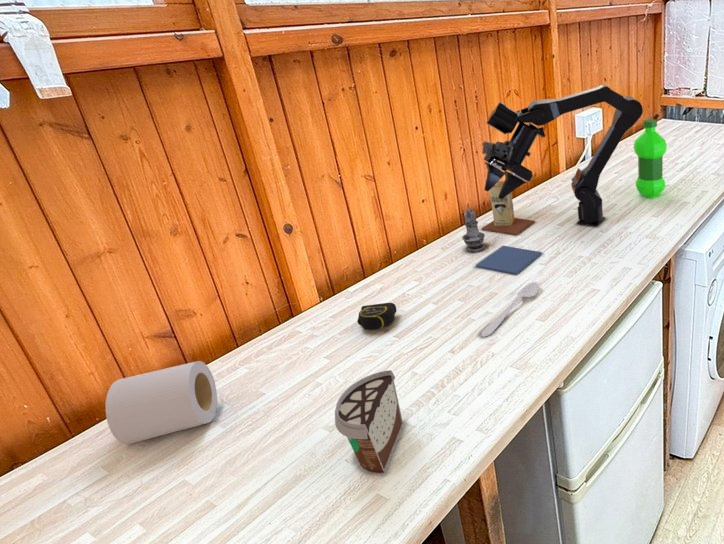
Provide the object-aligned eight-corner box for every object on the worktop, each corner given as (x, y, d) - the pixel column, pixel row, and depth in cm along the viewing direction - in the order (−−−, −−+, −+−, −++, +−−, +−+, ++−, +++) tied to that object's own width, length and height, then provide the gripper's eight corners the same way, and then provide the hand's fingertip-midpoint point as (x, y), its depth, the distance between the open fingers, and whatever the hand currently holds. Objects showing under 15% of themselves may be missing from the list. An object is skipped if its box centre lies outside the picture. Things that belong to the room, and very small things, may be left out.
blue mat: (541, 254, 136) (541, 252, 136) (516, 274, 126) (516, 272, 126) (503, 247, 141) (503, 245, 140) (476, 267, 131) (475, 264, 130)
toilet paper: (126, 458, 78) (96, 407, 74) (150, 414, 86) (124, 366, 82) (206, 436, 81) (182, 386, 77) (222, 396, 90) (200, 349, 85)
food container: (366, 420, 83) (351, 371, 79) (406, 417, 84) (392, 367, 79) (335, 485, 72) (315, 431, 68) (380, 481, 72) (363, 427, 68)
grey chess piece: (489, 243, 143) (483, 203, 138) (482, 253, 138) (475, 211, 133) (468, 243, 144) (461, 203, 139) (461, 253, 138) (453, 211, 133)
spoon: (544, 289, 119) (543, 282, 119) (491, 339, 102) (490, 332, 102) (528, 286, 121) (528, 279, 120) (474, 334, 104) (473, 327, 103)
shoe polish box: (498, 219, 158) (493, 181, 152) (514, 218, 157) (510, 181, 152) (494, 225, 153) (489, 187, 148) (511, 225, 153) (506, 186, 148)
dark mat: (534, 222, 156) (534, 220, 156) (516, 235, 148) (516, 233, 147) (501, 217, 160) (501, 215, 160) (481, 229, 152) (481, 228, 152)
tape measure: (399, 313, 112) (395, 298, 110) (392, 331, 106) (388, 316, 104) (365, 317, 111) (361, 302, 109) (357, 336, 105) (352, 320, 103)
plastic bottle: (636, 190, 179) (635, 117, 169) (667, 190, 178) (667, 117, 167) (633, 200, 170) (631, 124, 160) (665, 200, 169) (665, 124, 158)
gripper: (482, 124, 142) (454, 174, 141) (511, 133, 128) (481, 188, 127) (514, 144, 149) (488, 191, 149) (545, 154, 135) (517, 207, 135)
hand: (492, 194), depth 140 cm, fingers open, 9 cm apart
